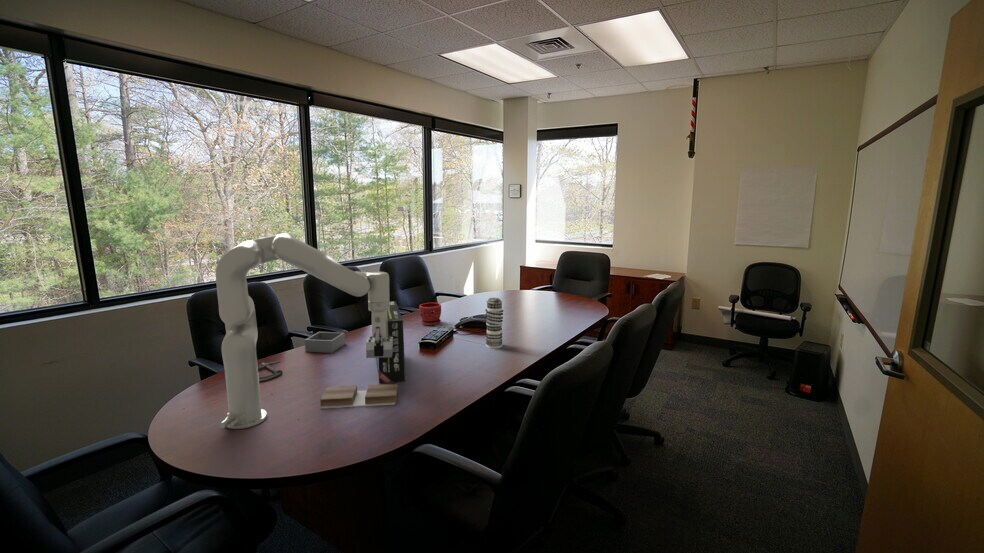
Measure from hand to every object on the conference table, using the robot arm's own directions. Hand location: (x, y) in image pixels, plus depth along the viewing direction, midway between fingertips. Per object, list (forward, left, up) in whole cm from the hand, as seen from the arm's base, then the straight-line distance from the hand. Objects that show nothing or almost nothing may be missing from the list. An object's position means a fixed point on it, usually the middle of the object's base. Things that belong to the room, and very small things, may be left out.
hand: (379, 352), depth 164 cm
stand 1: (-4, +15, -18) cm, 23 cm away
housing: (0, 0, -1) cm, 1 cm away
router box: (+30, +8, -18) cm, 36 cm away
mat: (-2, +7, -18) cm, 19 cm away
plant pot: (+104, +8, -18) cm, 106 cm away
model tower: (+67, -35, -18) cm, 78 cm away
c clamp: (+17, +58, -19) cm, 63 cm away
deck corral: (+52, +49, -18) cm, 74 cm away
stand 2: (0, 0, -18) cm, 18 cm away
